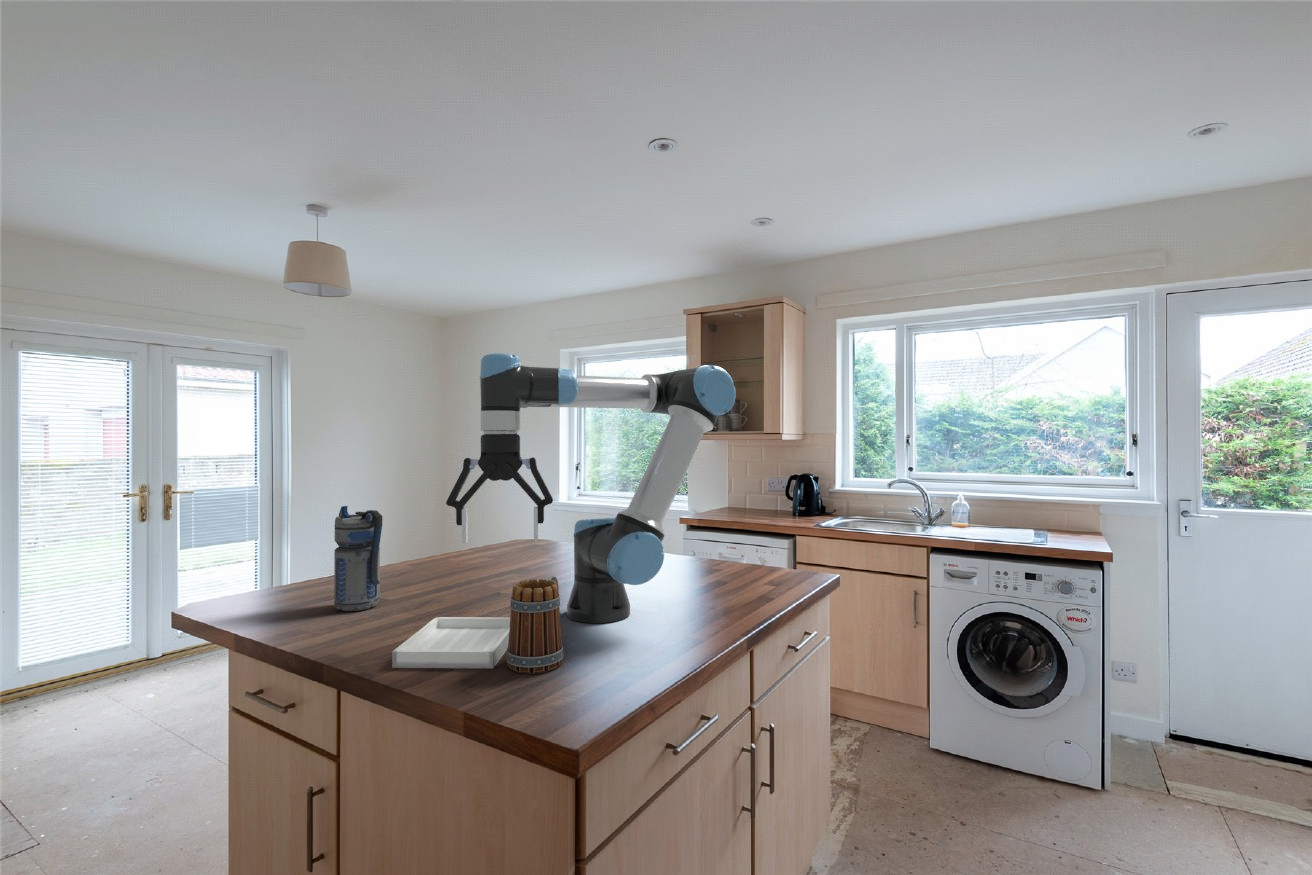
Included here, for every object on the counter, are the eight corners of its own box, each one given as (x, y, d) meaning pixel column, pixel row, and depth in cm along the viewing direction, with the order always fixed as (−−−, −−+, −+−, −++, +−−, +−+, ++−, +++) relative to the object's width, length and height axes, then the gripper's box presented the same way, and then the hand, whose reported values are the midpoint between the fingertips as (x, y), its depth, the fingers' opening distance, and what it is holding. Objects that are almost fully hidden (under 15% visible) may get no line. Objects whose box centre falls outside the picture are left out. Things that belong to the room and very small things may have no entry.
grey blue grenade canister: (362, 615, 145) (363, 510, 145) (322, 609, 150) (322, 507, 150) (395, 605, 155) (396, 506, 155) (357, 599, 160) (357, 503, 160)
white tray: (520, 631, 134) (520, 617, 134) (493, 668, 112) (493, 651, 112) (435, 630, 134) (435, 617, 134) (392, 667, 113) (392, 651, 113)
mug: (551, 677, 108) (551, 592, 108) (496, 672, 110) (496, 589, 111) (580, 647, 124) (580, 573, 124) (530, 644, 126) (530, 570, 126)
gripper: (564, 433, 126) (564, 536, 126) (438, 433, 123) (438, 539, 123) (564, 432, 119) (564, 542, 119) (430, 433, 115) (430, 546, 115)
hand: (500, 541), depth 121 cm, fingers open, 13 cm apart
